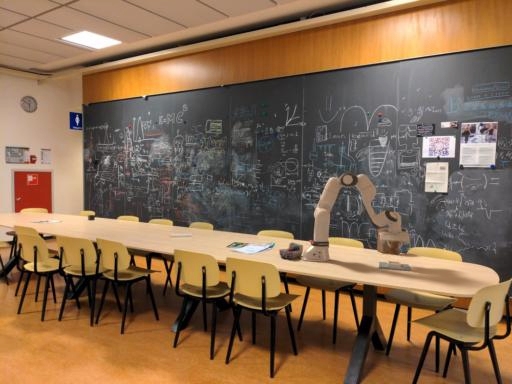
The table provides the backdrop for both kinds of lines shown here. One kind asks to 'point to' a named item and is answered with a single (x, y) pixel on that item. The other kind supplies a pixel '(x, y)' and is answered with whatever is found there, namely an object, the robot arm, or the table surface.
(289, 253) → the cell model
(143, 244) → the table surface
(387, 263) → the board
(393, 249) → the pillar
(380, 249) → the block
